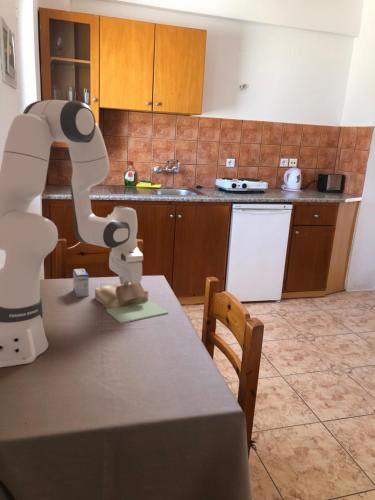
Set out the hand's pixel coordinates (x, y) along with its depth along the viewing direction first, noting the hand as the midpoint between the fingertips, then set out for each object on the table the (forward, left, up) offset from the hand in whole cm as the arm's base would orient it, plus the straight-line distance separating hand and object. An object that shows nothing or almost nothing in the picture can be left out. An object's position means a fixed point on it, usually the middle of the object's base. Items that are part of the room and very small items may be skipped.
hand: (124, 287), depth 151 cm
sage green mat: (0, -10, -6) cm, 12 cm away
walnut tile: (0, -4, -2) cm, 4 cm away
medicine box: (-11, +16, -6) cm, 20 cm away
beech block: (0, +3, -6) cm, 6 cm away
